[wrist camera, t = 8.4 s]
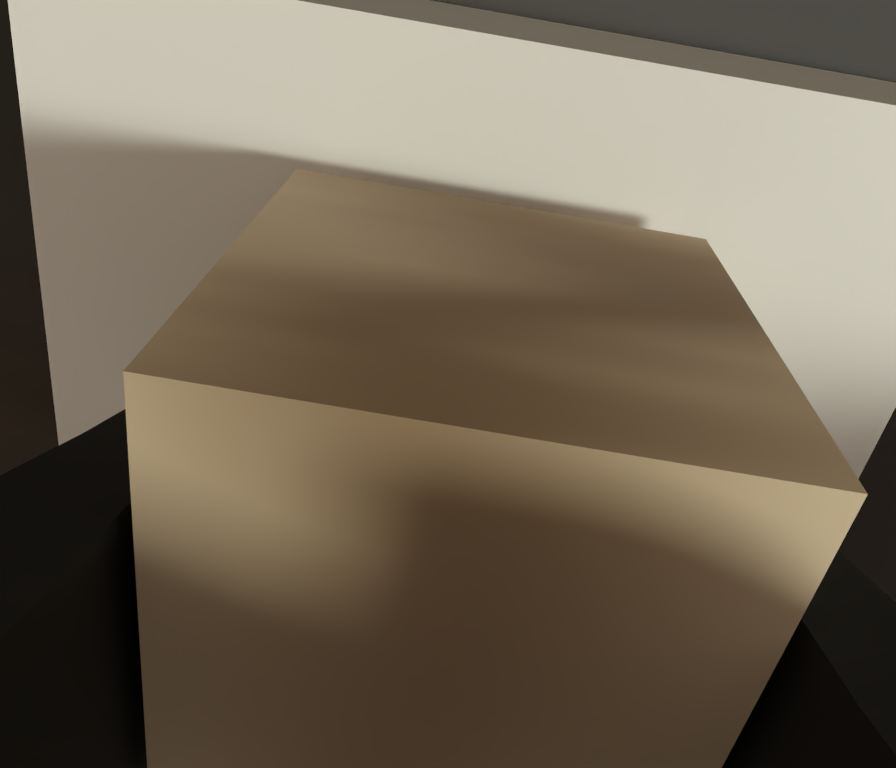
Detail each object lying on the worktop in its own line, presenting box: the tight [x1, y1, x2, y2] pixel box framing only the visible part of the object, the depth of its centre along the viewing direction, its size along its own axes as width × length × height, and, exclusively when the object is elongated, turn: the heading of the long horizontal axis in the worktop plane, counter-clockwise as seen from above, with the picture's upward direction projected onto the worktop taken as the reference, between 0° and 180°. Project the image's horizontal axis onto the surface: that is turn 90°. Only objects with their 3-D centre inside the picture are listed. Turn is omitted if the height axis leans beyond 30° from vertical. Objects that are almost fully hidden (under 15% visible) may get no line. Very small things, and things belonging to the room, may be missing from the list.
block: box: [123, 169, 868, 768], centre depth 8 cm, size 4×4×4 cm
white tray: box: [8, 0, 896, 479], centre depth 14 cm, size 11×22×5 cm, turn 171°
